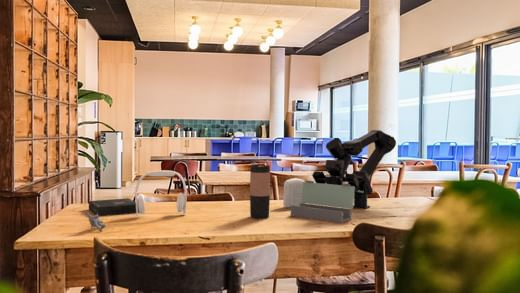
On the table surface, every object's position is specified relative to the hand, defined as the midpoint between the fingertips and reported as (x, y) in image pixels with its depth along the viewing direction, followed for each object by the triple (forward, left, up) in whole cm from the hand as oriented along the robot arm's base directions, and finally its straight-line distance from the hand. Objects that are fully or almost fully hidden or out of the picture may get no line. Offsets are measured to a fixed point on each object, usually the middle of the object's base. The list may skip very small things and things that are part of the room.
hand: (328, 195), depth 190 cm
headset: (+42, -50, -8) cm, 66 cm away
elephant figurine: (+72, -50, -8) cm, 88 cm away
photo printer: (-9, -21, -8) cm, 24 cm away
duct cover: (+2, 0, +1) cm, 3 cm away
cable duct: (+6, 0, -8) cm, 10 cm away
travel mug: (+20, -19, -8) cm, 29 cm away
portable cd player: (+46, -73, -9) cm, 87 cm away
